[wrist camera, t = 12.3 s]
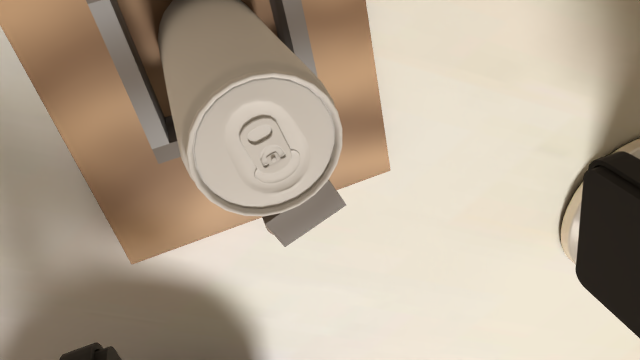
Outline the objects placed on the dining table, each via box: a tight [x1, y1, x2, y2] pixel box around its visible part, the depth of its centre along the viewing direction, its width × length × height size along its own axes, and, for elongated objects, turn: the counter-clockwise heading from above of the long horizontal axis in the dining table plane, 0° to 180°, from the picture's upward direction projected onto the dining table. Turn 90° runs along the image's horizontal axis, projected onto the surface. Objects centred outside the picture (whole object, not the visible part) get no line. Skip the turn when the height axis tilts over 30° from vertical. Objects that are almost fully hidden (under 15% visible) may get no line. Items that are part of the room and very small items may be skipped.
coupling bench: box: [0, 0, 390, 264], centre depth 24 cm, size 22×16×4 cm
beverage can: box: [158, 0, 342, 216], centre depth 20 cm, size 5×5×12 cm
